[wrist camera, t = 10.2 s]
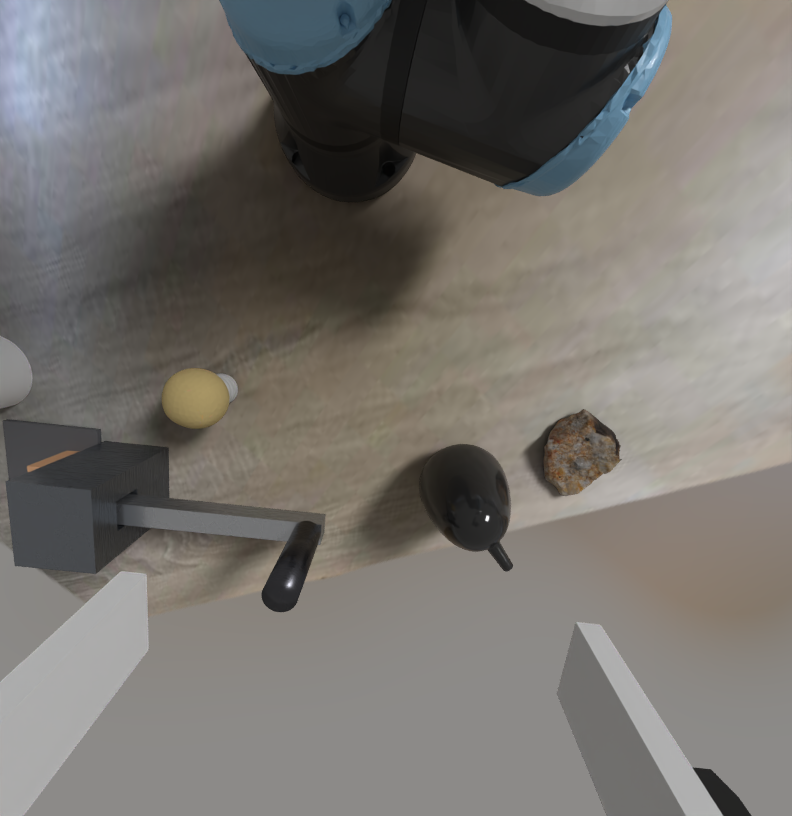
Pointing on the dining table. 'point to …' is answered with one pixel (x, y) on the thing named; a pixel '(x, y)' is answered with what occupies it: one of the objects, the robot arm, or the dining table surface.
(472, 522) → the pump dispenser
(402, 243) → the dining table surface
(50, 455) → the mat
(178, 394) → the light bulb
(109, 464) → the bearing block
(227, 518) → the shaft
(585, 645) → the robot arm
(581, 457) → the rock
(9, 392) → the cylinder with rectangular tab
